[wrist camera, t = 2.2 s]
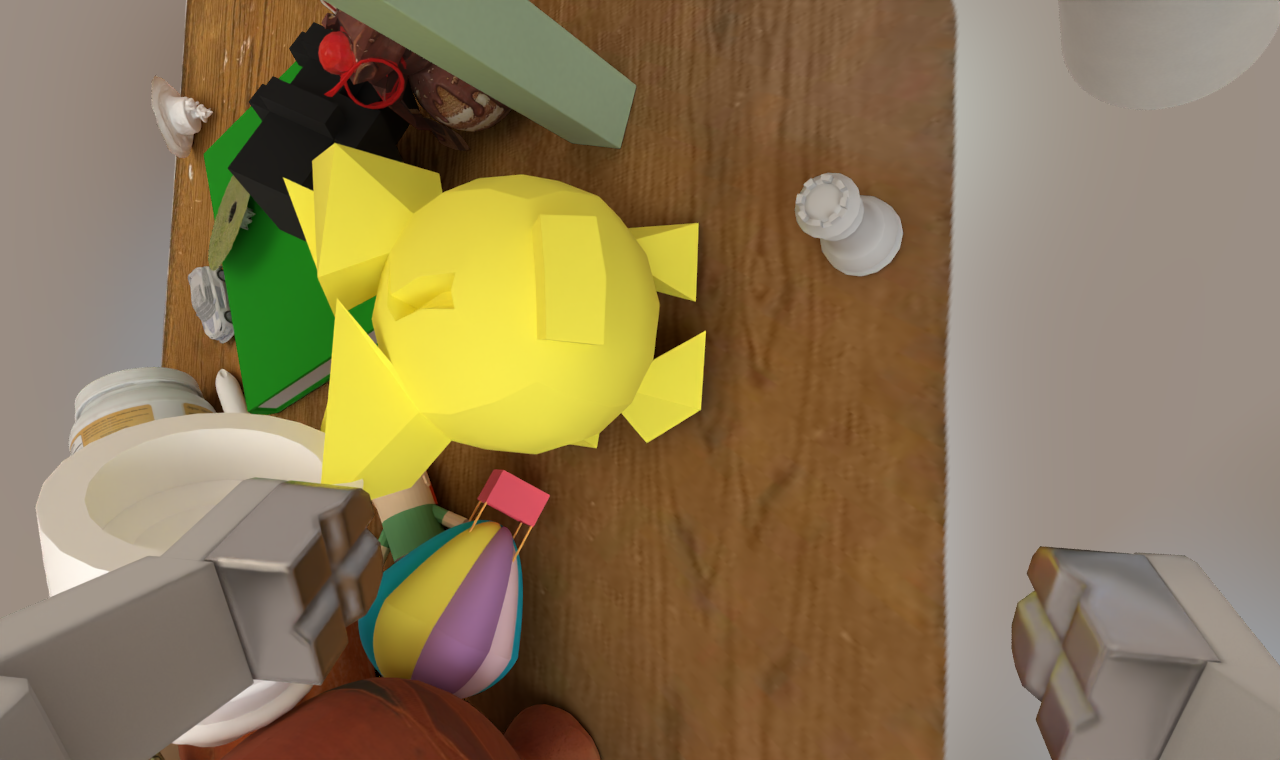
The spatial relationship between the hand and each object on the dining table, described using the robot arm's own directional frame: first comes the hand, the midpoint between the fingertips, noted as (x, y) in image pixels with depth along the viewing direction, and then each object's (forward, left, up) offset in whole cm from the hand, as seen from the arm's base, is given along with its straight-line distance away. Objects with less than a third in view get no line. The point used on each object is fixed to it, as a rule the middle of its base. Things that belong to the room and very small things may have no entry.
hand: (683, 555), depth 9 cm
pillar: (-16, -30, -34) cm, 48 cm away
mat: (-3, -66, -31) cm, 72 cm away
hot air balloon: (+15, -23, -25) cm, 37 cm away
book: (-3, -60, -34) cm, 69 cm away
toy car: (+7, -72, -34) cm, 80 cm away
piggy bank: (0, -26, -34) cm, 42 cm away
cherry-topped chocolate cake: (-17, -41, -34) cm, 56 cm away
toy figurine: (+16, -37, -34) cm, 53 cm away
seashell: (-15, -82, -29) cm, 89 cm away
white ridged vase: (+9, -29, -11) cm, 32 cm away
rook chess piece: (-11, -10, -34) cm, 37 cm away
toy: (-18, -48, -28) cm, 58 cm away
